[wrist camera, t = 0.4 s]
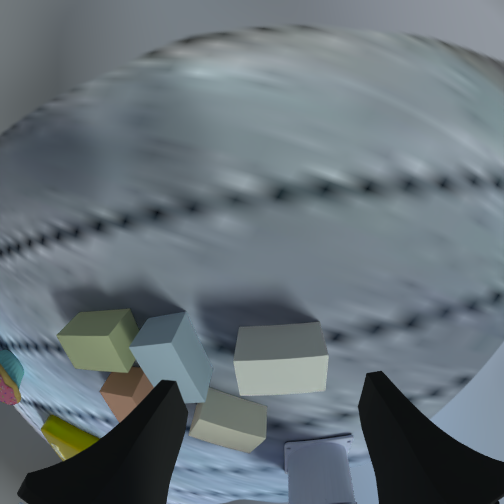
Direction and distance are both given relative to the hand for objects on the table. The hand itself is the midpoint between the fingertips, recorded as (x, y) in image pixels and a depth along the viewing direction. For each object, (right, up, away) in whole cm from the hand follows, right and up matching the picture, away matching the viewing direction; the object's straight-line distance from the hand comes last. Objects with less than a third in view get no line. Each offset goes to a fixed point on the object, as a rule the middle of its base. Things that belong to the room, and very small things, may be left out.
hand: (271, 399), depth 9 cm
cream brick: (-3, -9, +14) cm, 17 cm away
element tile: (-29, -29, +23) cm, 47 cm away
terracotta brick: (-12, -8, +14) cm, 20 cm away
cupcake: (-36, -11, +17) cm, 41 cm away
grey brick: (+1, -1, +11) cm, 12 cm away
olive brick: (-13, -1, +12) cm, 18 cm away
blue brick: (-6, -2, +12) cm, 14 cm away
